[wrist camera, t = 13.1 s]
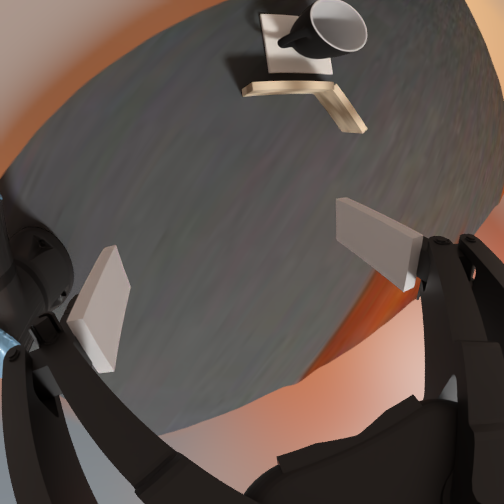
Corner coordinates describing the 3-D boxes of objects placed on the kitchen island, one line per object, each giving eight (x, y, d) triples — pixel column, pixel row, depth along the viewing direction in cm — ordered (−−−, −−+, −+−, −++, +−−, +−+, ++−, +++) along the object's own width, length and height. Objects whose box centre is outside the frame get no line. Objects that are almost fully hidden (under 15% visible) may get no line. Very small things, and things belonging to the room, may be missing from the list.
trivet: (268, 73, 34) (269, 72, 34) (259, 15, 29) (260, 13, 29) (330, 74, 36) (332, 74, 36) (321, 20, 31) (323, 19, 31)
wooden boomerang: (248, 139, 38) (259, 139, 33) (241, 89, 35) (252, 82, 29) (346, 131, 41) (367, 133, 36) (342, 88, 38) (363, 84, 32)
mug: (317, 16, 30) (350, -4, 22) (339, 59, 35) (377, 47, 26) (254, 30, 30) (277, 4, 21) (279, 76, 34) (309, 62, 26)
